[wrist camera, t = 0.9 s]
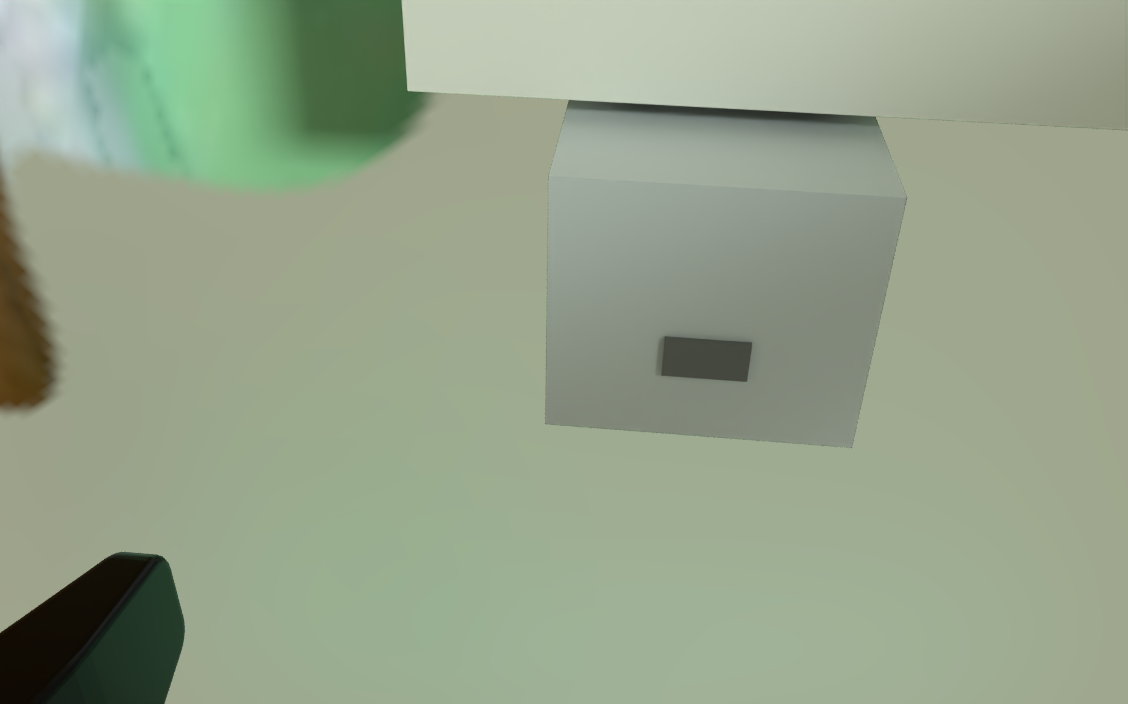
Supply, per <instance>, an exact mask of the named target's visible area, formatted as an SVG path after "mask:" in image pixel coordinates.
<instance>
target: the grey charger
mask: <svg viewBox="0 0 1128 704" xmlns="http://www.w3.org/2000/svg"><path fill="white" fill-rule="evenodd" d="M906 200H907V196H906V194H905V191H904V189H903V186H902V183H901V181H900V178H899V176H898V173H897V171H896V168H895V166H894V164H893V161H892V158H891V155H890V153H889V150H888V148H887V145H886V143H885V140H884V138H883V135H882V132H881V130H880V127H879V125H878V122H877V120H876V117H875V116H856V115H838V114H820V113H801V112H783V111H765V110H746V109H728V108H710V107H691V106H673V105H655V104H636V103H618V102H600V101H581V100H569V102H568V106H567V109H566V113H565V117H564V120H563V125H562V128H561V132H560V135H559V139H558V143H557V146H556V150H555V154H554V157H553V161H552V164H551V168H550V172H549V176H548V247H547V248H548V249H547V253H548V254H547V328H546V329H547V330H546V331H547V332H546V410H545V411H546V412H545V424H550V425H563V426H576V427H589V428H602V429H615V430H628V431H641V432H655V433H668V434H679V435H693V436H707V437H718V438H730V439H743V440H756V441H770V442H782V443H795V444H796V443H797V444H808V445H821V446H834V447H846V448H852V445H853V441H854V436H855V432H856V427H857V423H858V418H859V414H860V409H861V404H862V400H863V395H864V391H865V387H866V382H867V377H868V373H869V368H870V364H871V359H872V355H873V350H874V346H875V341H876V337H877V331H878V328H879V323H880V318H881V313H882V309H883V305H884V300H885V296H886V291H887V287H888V282H889V278H890V272H891V268H892V264H893V259H894V255H895V250H896V246H897V241H898V236H899V232H900V228H901V223H902V218H903V214H904V209H905V205H906Z"/></svg>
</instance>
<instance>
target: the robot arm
mask: <svg viewBox="0 0 1128 704" xmlns="http://www.w3.org/2000/svg"><path fill="white" fill-rule="evenodd" d="M184 633H185V626H184V618H183V614H182V610H181V606H180V603H179V599H178V595H177V591H176V587H175V584H174V580H173V576H172V572H171V569H170V566H169V563H168V562H167V561H166V560H165V559H164V558H163V557H162V556H159V555H154V554H141V553H130V552H119V553H115V554H113V555H111V556H109V557H107V558H106V559H104V560H103V561H101V562H100V563H99V564H97V565H96V566H94V567H93V568H91V569H90V570H89V571H87V572H86V573H85V574H83V575H82V576H80V577H79V578H77V579H76V580H75V581H73V582H72V583H70V584H69V585H67V586H66V587H65V588H63V589H62V590H60V591H59V592H58V593H56V594H55V595H53V596H52V597H51V598H49V599H48V600H46V601H45V602H44V603H42V604H41V605H39V606H38V607H36V608H35V609H34V610H32V611H31V612H30V613H28V614H26V615H25V616H24V617H22V618H21V619H20V620H18V621H16V622H15V623H14V624H12V625H11V626H9V627H8V628H7V629H5V630H4V631H2V632H1V633H0V704H164V703H165V700H166V697H167V694H168V691H169V688H170V685H171V681H172V678H173V675H174V672H175V669H176V666H177V663H178V660H179V656H180V653H181V650H182V646H183V641H184Z"/></svg>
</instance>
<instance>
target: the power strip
mask: <svg viewBox="0 0 1128 704" xmlns="http://www.w3.org/2000/svg"><path fill="white" fill-rule="evenodd" d="M402 13H403V28H404V44H405V59H406V75H407V90H408V91H416V92H435V93H453V94H472V95H491V96H508V97H526V98H545V99H564V100H581V101H600V102H618V103H636V104H655V105H673V106H691V107H710V108H728V109H746V110H765V111H783V112H801V113H820V114H838V115H856V116H875V117H893V118H912V119H930V120H931V119H932V120H948V121H968V122H985V123H1003V124H1022V125H1040V126H1059V127H1076V128H1077V127H1078V128H1095V129H1113V130H1128V0H402Z"/></svg>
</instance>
